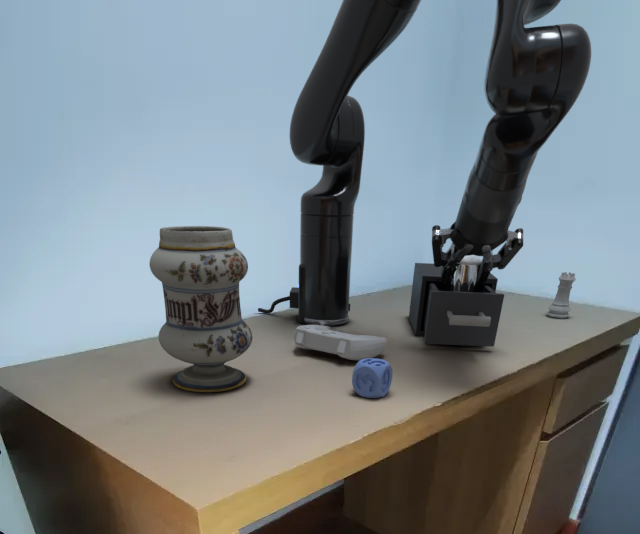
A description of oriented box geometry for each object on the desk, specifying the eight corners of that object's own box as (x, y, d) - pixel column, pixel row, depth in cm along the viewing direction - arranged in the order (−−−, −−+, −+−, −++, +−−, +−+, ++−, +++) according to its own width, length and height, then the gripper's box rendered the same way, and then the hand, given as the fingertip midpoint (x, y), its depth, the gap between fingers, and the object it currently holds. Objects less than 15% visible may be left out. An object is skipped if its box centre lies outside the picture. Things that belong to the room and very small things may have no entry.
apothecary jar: (209, 362, 84) (197, 220, 74) (272, 379, 79) (269, 228, 68) (145, 382, 76) (121, 226, 66) (210, 402, 71) (196, 236, 60)
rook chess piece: (571, 319, 116) (583, 275, 111) (550, 318, 116) (561, 274, 111) (564, 314, 119) (575, 271, 115) (543, 313, 119) (553, 271, 115)
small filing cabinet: (486, 338, 101) (498, 278, 95) (415, 335, 101) (422, 275, 95) (472, 319, 112) (481, 265, 107) (408, 317, 113) (415, 262, 107)
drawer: (501, 356, 88) (512, 302, 84) (428, 353, 89) (435, 299, 84) (479, 326, 104) (487, 279, 99) (416, 324, 104) (422, 277, 100)
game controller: (394, 334, 88) (362, 331, 81) (389, 363, 90) (357, 363, 83) (319, 319, 95) (283, 315, 87) (315, 347, 97) (279, 345, 89)
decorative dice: (364, 386, 78) (366, 356, 75) (391, 391, 76) (394, 361, 74) (350, 394, 75) (352, 363, 72) (378, 400, 73) (381, 369, 71)
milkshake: (478, 319, 93) (492, 250, 87) (445, 317, 93) (457, 248, 87) (472, 313, 97) (485, 247, 91) (441, 312, 97) (452, 245, 91)
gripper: (544, 174, 77) (505, 261, 94) (439, 170, 78) (419, 258, 94) (545, 222, 76) (505, 302, 93) (438, 218, 76) (418, 299, 93)
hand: (462, 279), depth 94 cm, fingers closed on milkshake, 4 cm apart
